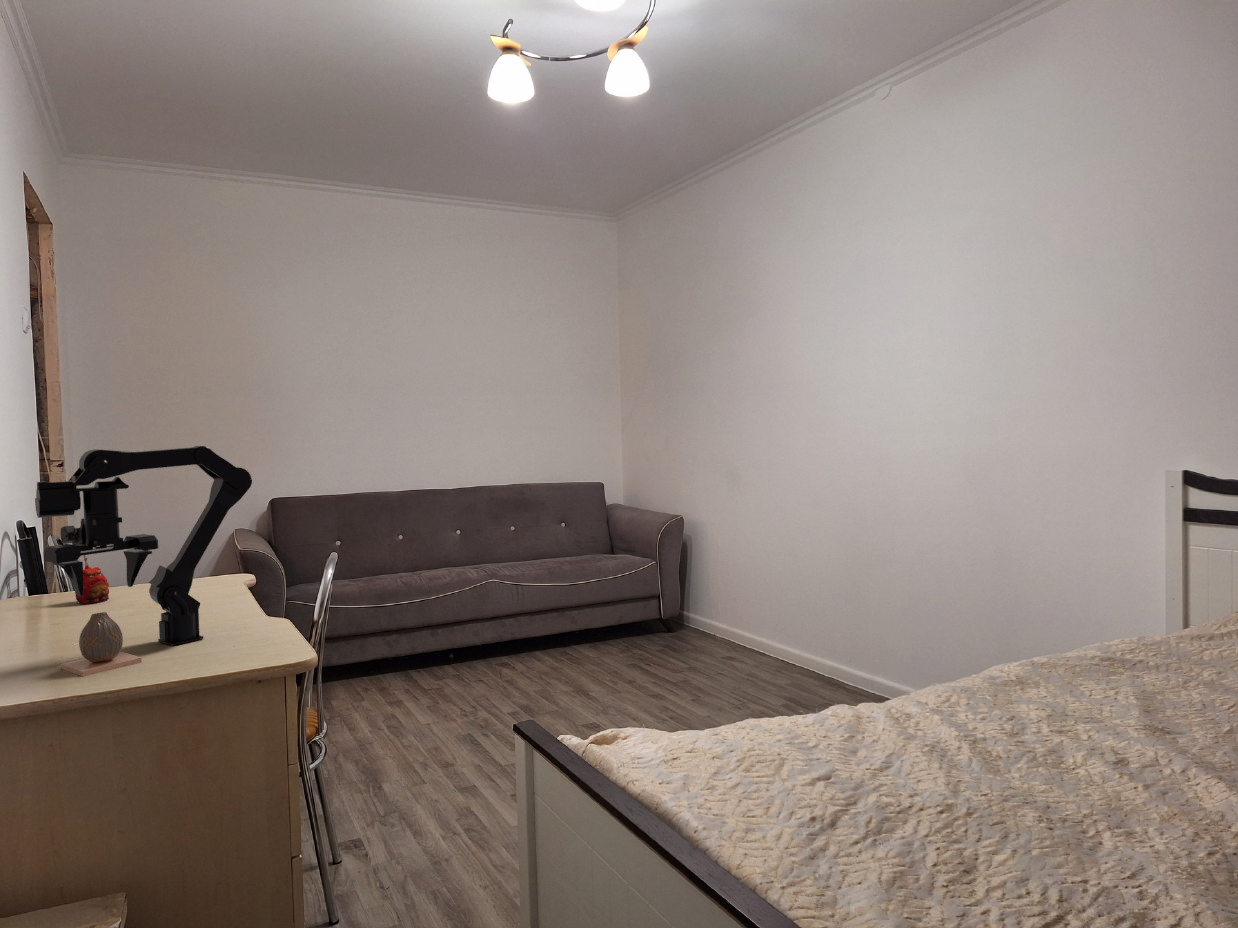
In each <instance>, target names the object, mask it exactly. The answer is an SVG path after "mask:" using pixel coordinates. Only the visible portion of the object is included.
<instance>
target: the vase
mask: <svg viewBox="0 0 1238 928" xmlns="http://www.w3.org/2000/svg"><path fill="white" fill-rule="evenodd" d="M123 637H124V636H123V632H122V629H121V628H120V626H119V625H118V623H117V622H116V621H114V620H113V619H112V618H111V616H110V615H109V614H108V612H106V611H104V612H95V613H92V614H91V615H90V618H89V620H88V621H87V622H86V624H85V625H84V627H83V628H82V630H81V632H80V634H79V638H78V646H79V650H80V653H81V655H82V656H83V659H87V660H88V661H90V662H99V661H105V660H110V659H113V658H115V657H116V656H117V655H118V654H119V652H120V651H121V650H122V648H123V643H124V642H123V641H124V638H123Z"/></svg>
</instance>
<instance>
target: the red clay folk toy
mask: <svg viewBox="0 0 1238 928" xmlns="http://www.w3.org/2000/svg"><path fill="white" fill-rule="evenodd" d="M86 556H87V555H83V557H84V558H83V559H84V563H85V564H84V567H85V568H83V595H82V596H78V595H77V593H76V591H75V590H74V594H75V600H76V601H77V602H78V603H79V604H82V605H89V604H95V603H98V602H105V601H108V600H110V599H109V593H110V589H109V586H110V585H109V582H108V579H107V577H106V576H105V575H104V574H103V572H102V570H101V568H100V567H98V566H97V567H96V566H95V567H91V566H90V565H89V564H88V562H87V561H88V559H89V558H88V557H86Z"/></svg>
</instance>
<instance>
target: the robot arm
mask: <svg viewBox="0 0 1238 928" xmlns="http://www.w3.org/2000/svg"><path fill="white" fill-rule="evenodd" d="M194 465H195V466H197V467H198V468H199V469H201V470H202V472H204V473H205V474H206V475H207V476H209V478H211V479H213V482H212V484H211V487H210V492H209V498H208V502H207V504H206V505H205V506H204V509H203V510H202V511H201V514H200V515H199V517H198V519H197V521H196V523H195V524H194V526H193V527H192V529H191V531H190V532H189V534H188V535H187V538H186V539H185V541H184V542H183V544H182V546H181V548H180V549H179V552H178V553H177V555H176V557H175V559H174V560H173V561H172V562H170V563H169V564H168V566H166V567H165V566H163V565H159V566H158V567H157V570H156V572H155V575H154V576H153V577H152V579H151V580H149V581H148V583H149V584H150V587H149V590H148V592H149V597H150V598H151V599H152V601H153V602H155V603H157V604H158V605H159V606H160V607H161V609H162V611H165V612H161V613H160V620H159V621H158V629H159V630H158V631H159V632H158V634H159V638H158V639H157V640H158V641H157V642H159V643H162V644H166V645H169V646H177V645H183V644H185V643H186V644H187V643H192V642H195V641H200V640H204V635H201V634H200V616H199V609H200V606H201V602H199V600H197V599H195V598H194V597H193V596H191V595H190V591H191V588H192V585H193V580H194V575H195V570H196V568H197V567H198V564H199V562H200V561H201V560H202V558H203V556H204V554H205V552H206V551H207V549H208V547H209V545H210V544H211V542H212V540H213V538H214V536H215V535H216V533H217V532H218V530H219V528H220V526H221V524H222V522H223V520H225V518H226V515H227V514H228V513H229V510H230V509H231V508H233V507H234V506H235V505H236V504H237V503H238V502H239V501H240V500H241V499H242V498H243V497H244V496H245V494H247V492H248V490H250V488H251V486H252V484H253V479H252V475H251V473H250V472H249V471H248V470H246V468H243V467H237V466H235V465H234V464H232V463H231V462H229V461H228V460H227V459H225V458H223V457H221V456H220V455H218V454H217V453H216V452H214V451H213V450H212V449H211V448H210V447H209V446H204V445H195V446H191V447H184V448H183V447H180V448H168V449H157V450H155V449H154V450H144V451H141V450H140V451H126V450H125V451H124V450H123V451H122V450H109V449H98V448H97V449H91V450H90V449H89V450H87V451H85V452H84V453H83V454H81V457H80V458H79V462H78V466H79V467H78V468H77V470H75V472H74V473H73V474H72V475H70V476H71V477H70V478H69V479H68V481H66V480H65V481H37V482H36V490H35V492H36V493H35V498H34V505H35V506H34V507H35V513H36V517H37V518H38V519H42V518H51V517H66V516H74V515H75V512H76V511H78V510H81V506H82V505H83V518H81V519H80V527H75V526H74V525H66V526H62V527H60V541H61V543H62V544H55V545H50V546H49V545H48V546H46V548H45V549H44V551H43V562H48V563H52V565H54V566H58V567H60V568H61V569H62V570H63V571H64V572H65V574H66V575H67V577H68V579H69V580H70V583H71V585H72V586H73V589H74V592H75V591H76V593H77V595H78V596H82V595H83V569H84V563H83V561H82V560H81V561H80V560H79V559H80V558H81V557H82V556H84V555H85V556H89V555H96V554H102V553H103V554H104V553H110V552H116V551H123V550H125V551H123V555H124V556H125V560H126V583H127V587H128V588H132V587H133V586H134V584H135V581H136V579H137V577H138V575H139V573H140V570H141V568H142V567H143V564H144V563H145V561H146V559H147V557H148V556H149V555H152V554H153V550H158V549H160V548H159V539H158V538H157V537H156V536H155V534H154V535H153V534H145V533H144V534H143V533H141V534H135V535H132V534H131V535H126V536H125V538H124V537H121V535H120V523H123V516H119V499H118V490H124V489H125V490H126V489H129V488H130V485H129V484H127V483H126V482H124V481H123V480H122V479H121V477H120V476H122V475H125V474H129V473H131V472H136V471H139V470H149V469H159V468H160V469H162V468H171V467H181V466H194ZM110 478H113V479H112V480H108V481H107V480H106V479H110ZM96 480H106V481H96ZM92 483H94V486H90V487H82V486H88V485H90V484H92ZM78 486H81V487H78ZM81 492H82V501H83V502H82V501H81ZM81 502H82V503H83V504H82V503H81Z"/></svg>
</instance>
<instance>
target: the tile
mask: <svg viewBox="0 0 1238 928" xmlns="http://www.w3.org/2000/svg"><path fill="white" fill-rule="evenodd" d="M141 663H142V657H141V656H137V655H134V654H130V653H127V652H123V651H121V650H120V652H119V654H118V655H117V656H116V657H115V658H113V659H110V660H105V661H99V662H90V661H88V660H87V659H85V658H81V659H77V660H73V661H70V662H69V661H68V662H64V663H61V664H60V666H61V670H62V669H63V670H65V671H67V672H70V673H73V674H75V675H78V676H80V677H87V676H91V675H95V674H99V673H104V672H108V671H112V670H117V669H121V668H125V667H128V666H133V665H137V664H141Z"/></svg>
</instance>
